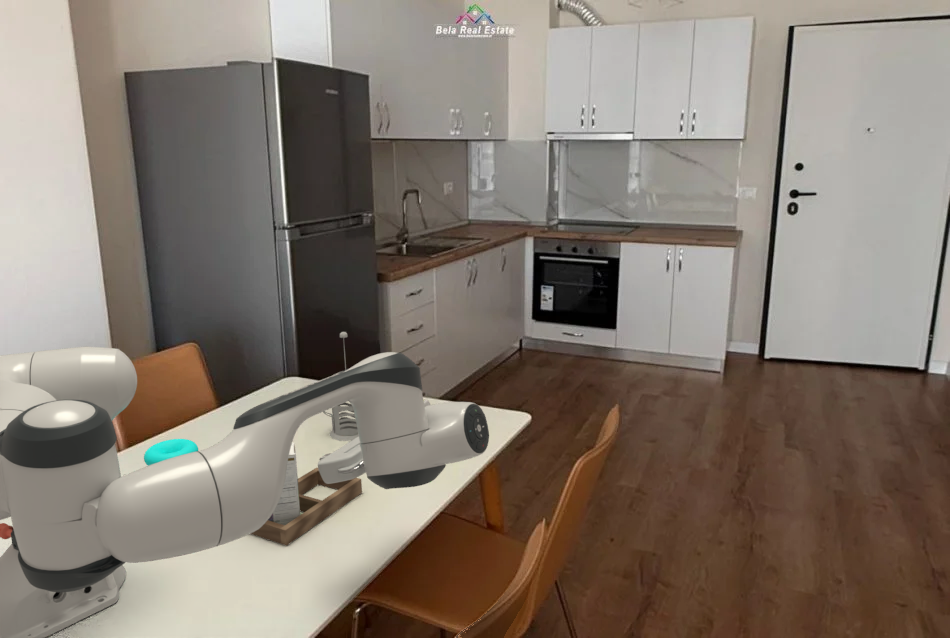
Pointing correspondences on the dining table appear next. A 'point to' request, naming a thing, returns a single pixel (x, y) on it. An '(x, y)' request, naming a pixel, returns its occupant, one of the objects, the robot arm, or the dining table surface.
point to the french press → (344, 426)
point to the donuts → (169, 450)
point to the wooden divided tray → (311, 508)
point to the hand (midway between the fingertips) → (344, 448)
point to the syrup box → (288, 494)
